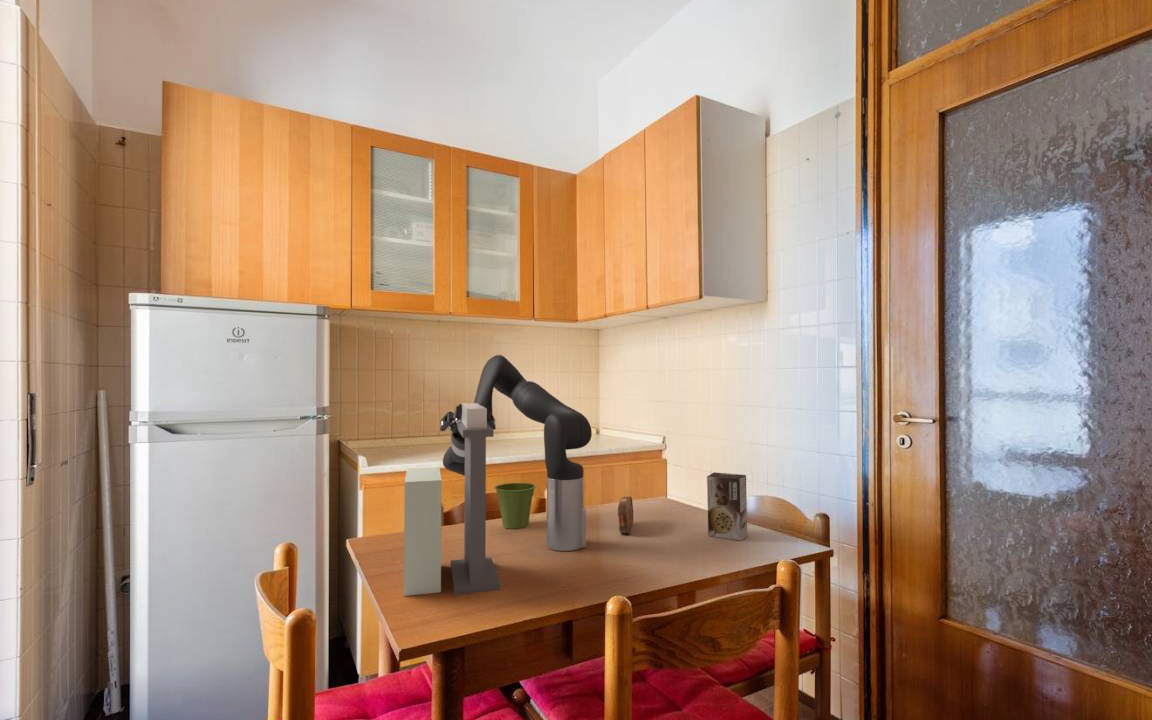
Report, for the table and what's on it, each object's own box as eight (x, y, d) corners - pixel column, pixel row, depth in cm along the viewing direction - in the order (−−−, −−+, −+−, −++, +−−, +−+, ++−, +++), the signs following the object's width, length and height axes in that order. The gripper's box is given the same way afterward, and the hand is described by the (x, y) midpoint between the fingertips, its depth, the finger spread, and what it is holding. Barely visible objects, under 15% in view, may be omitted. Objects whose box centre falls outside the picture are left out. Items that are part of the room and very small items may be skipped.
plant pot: (536, 520, 162) (536, 481, 163) (535, 531, 151) (535, 490, 151) (496, 520, 162) (496, 482, 162) (492, 532, 150) (492, 490, 150)
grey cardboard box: (748, 535, 147) (747, 474, 147) (741, 541, 141) (740, 478, 142) (714, 530, 152) (714, 471, 152) (706, 535, 146) (706, 475, 147)
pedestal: (438, 565, 124) (439, 467, 124) (440, 592, 108) (441, 480, 109) (406, 568, 122) (407, 468, 122) (403, 596, 106) (404, 482, 107)
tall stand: (491, 563, 125) (491, 422, 126) (500, 589, 109) (500, 429, 110) (450, 567, 122) (451, 423, 123) (454, 594, 107) (455, 430, 108)
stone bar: (476, 419, 134) (476, 403, 134) (486, 428, 112) (486, 408, 113) (460, 420, 133) (460, 403, 133) (466, 428, 111) (467, 408, 111)
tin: (628, 537, 145) (628, 505, 145) (616, 537, 146) (616, 505, 146) (634, 522, 160) (634, 493, 160) (623, 522, 160) (623, 493, 161)
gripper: (437, 424, 141) (439, 393, 126) (493, 423, 144) (500, 392, 130) (437, 452, 137) (439, 422, 123) (494, 450, 141) (502, 421, 126)
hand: (470, 407), depth 127 cm, fingers closed on stone bar, 4 cm apart
